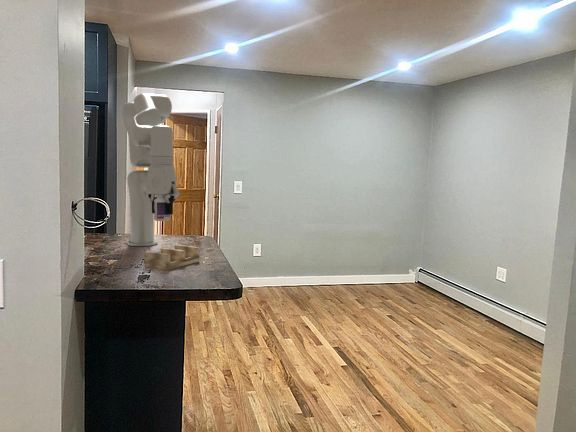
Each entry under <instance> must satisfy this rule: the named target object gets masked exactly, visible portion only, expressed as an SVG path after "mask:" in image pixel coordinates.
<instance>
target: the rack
mask: <svg viewBox="0 0 576 432" xmlns="http://www.w3.org/2000/svg"><path fill="white" fill-rule="evenodd" d="M198 262H200V247H199V246H192V245H182V244H174V248H170V247H169V248H168V247H161V248H160V251H159V252H155V251H148V250H147V251H144V268H151V269H155V270H163V271H171V270H174V269H178V268H181V266H182V267H185V266H188V265H191V264H195V263H198Z"/></svg>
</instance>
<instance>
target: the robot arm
mask: <svg viewBox="0 0 576 432" xmlns="http://www.w3.org/2000/svg"><path fill="white" fill-rule="evenodd" d="M172 110H173V105H172V101H171V99H170V97H168V96H167V95H166V94H156V93H147V92H146V93H139V94H138V95H136V96H135V97H134V99H133V101H128V102H124V104H123V105H122V108H121V116H122V121H123V124H124V126H125V129H126V131H127V135H128V148H129V150H128V151H129V159H130V160H129V161H130V164H131V165H132V167H135V168H142V170H139V169H138V170H133V171H131V172H128V175H127V178H126V180H127V187H128V193H129V210H130V212H129V213H130V216H129V217H130V219H129V220H130V232H128V233H127V234H125V236H124V237H125V238H126V239H128V240H127V241H126V245H128V246H129V247H130V246H131V247H150V246H155V245H158V242H159V241H158V240H157V239H155V235H154V233H155V232H154V230H155V229H154V228H155V225H154V224H155V223H154V222H155V220H154V200H155V199H157V197H156V194H157V195H165V198H166V202H167V203H165V214H166V215H169V214H170V215H173V213H174V207H173V206H174V203H175V200H176V199H177V197H179V195H180V194H181V193H180V191H179V190H178V188H177V178H176V177H177V176H176V169H175V166H174V143H173V142H174V133H173V131H174V130H173V128H172V127H171V126H169V125H162V124H163V123H165V122H166V121H167V120H168V118H169V117H170V116H171V114H172ZM160 124H161V125H160ZM143 168H144V169H145V168H147V170H146V169H145V170H143Z"/></svg>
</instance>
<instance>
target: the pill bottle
mask: <svg viewBox="0 0 576 432" xmlns="http://www.w3.org/2000/svg"><path fill="white" fill-rule="evenodd" d="M155 197H157V199H155V200H154V222H156V221H157V222H167V221H168V222H169V221H170V220H171V214H169V215H166V214H165V203H167V202H166V198H165V195H157V194H156V196H155Z"/></svg>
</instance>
